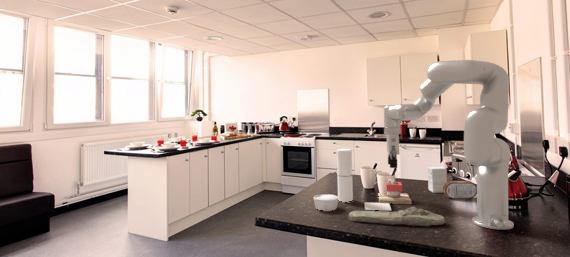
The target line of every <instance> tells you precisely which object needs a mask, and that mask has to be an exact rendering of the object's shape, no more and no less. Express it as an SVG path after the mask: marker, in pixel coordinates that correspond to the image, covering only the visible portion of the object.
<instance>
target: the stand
mask: <svg viewBox="0 0 570 257" xmlns="http://www.w3.org/2000/svg"><path fill="white" fill-rule="evenodd" d="M390 182H391V184H396V182H397V181H396V180H391V181H390ZM380 193H381V192H378V193H377V197H378V196H379V197H378V201H379V203H389V204H391V203H392V204H393V205H394V204H395V205H397V204H398V205H399V204H400V205H412V204H413V203H412V199H411V198H410V196H409V194H408V193H402V192H401V191H387V190H386V193H387V196H382V195H380Z"/></svg>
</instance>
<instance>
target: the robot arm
mask: <svg viewBox="0 0 570 257" xmlns="http://www.w3.org/2000/svg"><path fill="white" fill-rule="evenodd" d="M426 76H427V79H426V80H425V81H424V82H423V83H422V84H420V86H419V90H420V93H421V94H422V95H421V96H420V98H418V99H417V100H416V101H415V102H414V103H403V104H401V103H400V104H390V105H389V104H388V105H385V106H384V108H383V134H384V135H386V150H387V164H388V165H389V168H390V169H398V156H399V155H400V138H399V137H400V136H399V135H401V133H402V132H401V125H402V124H401V123H402V121H416V120H419V119H421V118H422V117H424V116H425V115H426V114H427V113H428V112H430V111H431V109H432V108H433V106H434V104H435V103H436V100H437V99H438V98H439V97H440V96H441V95H443V94H444V93H445V92H446V91H448V89H450V88H451V87H452V86H453V85H456V84H460V85H461V84H463V85H464V84H465V85H481V86H482V88H481V92H480V94H479V108H476V109H473V110H471V111H470V112H469V113H468V115H467V116H466V118H465V120H464V128H463V129H464V130H463V155H464V159H465V160H466V161H467V162H468V163H469V164H470V165H472V166H473V167H477V170H476V186H477V194H476V216H473V217H472V219H471V221H472V223H473V224H475V225H476V226H479V227H483V228H484V229H485V228H487V229H491V230H498V231H500V230H501V231H502V230H503V231H504V230H511V229H513V228H514V227H515V226H514V222H513V221H511V220H509V167H510V160H511V149H510V146H509V145H508V143H507V142H506V141H505V140H503V139H501V138H498V137H495V135H496V134H500V133H503V131H505V130H506V129H507V127H508V121H509V120H508V119H509V94H510V93H509V92H510V78H509V75H508V73H507V71H506V70H505V68H503V66H500V65H499V64H496V63H495V62H494V63H493V62H489V61H483V60H474V59H459V60H439V61H435V62H434V63H432V64H431V65H430V66H429V67H428V69H427V75H426Z"/></svg>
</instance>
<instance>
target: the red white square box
mask: <svg viewBox="0 0 570 257" xmlns="http://www.w3.org/2000/svg"><path fill="white" fill-rule="evenodd" d="M385 190H386V192H387V191H400V192H403V184H402V182H401V181H396V184H389V183H386V182H385Z"/></svg>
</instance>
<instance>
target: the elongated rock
mask: <svg viewBox="0 0 570 257" xmlns="http://www.w3.org/2000/svg"><path fill="white" fill-rule="evenodd" d="M348 219H349V221H351V222H360V223H361V222H362V223H370V224H381V225H383V224H384V225H406V226H413V227H414V226H422V227H430V226H439V225H444V224H445V217H444V216H443V215H440V214H438V213H435V212H431V211H430V210H428V209H427V210H425V209H423V208H417V207H416V206H411V207H408V208H406V209H399V210H397V211H375V210H358V209H357V210H353V211H351V212H348Z"/></svg>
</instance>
